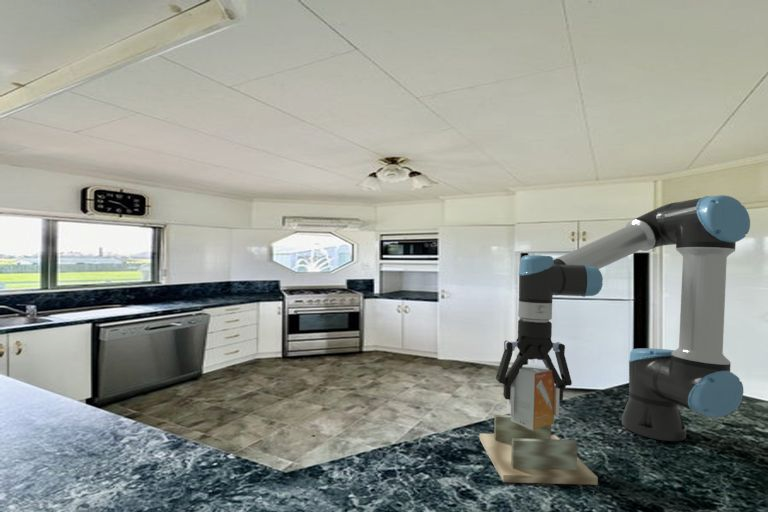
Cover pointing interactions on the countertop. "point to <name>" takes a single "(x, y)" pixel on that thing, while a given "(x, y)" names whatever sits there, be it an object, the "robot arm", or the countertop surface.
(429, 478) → the countertop surface
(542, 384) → the small box
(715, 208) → the robot arm
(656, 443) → the countertop surface
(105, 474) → the countertop surface
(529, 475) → the bookend shelf
